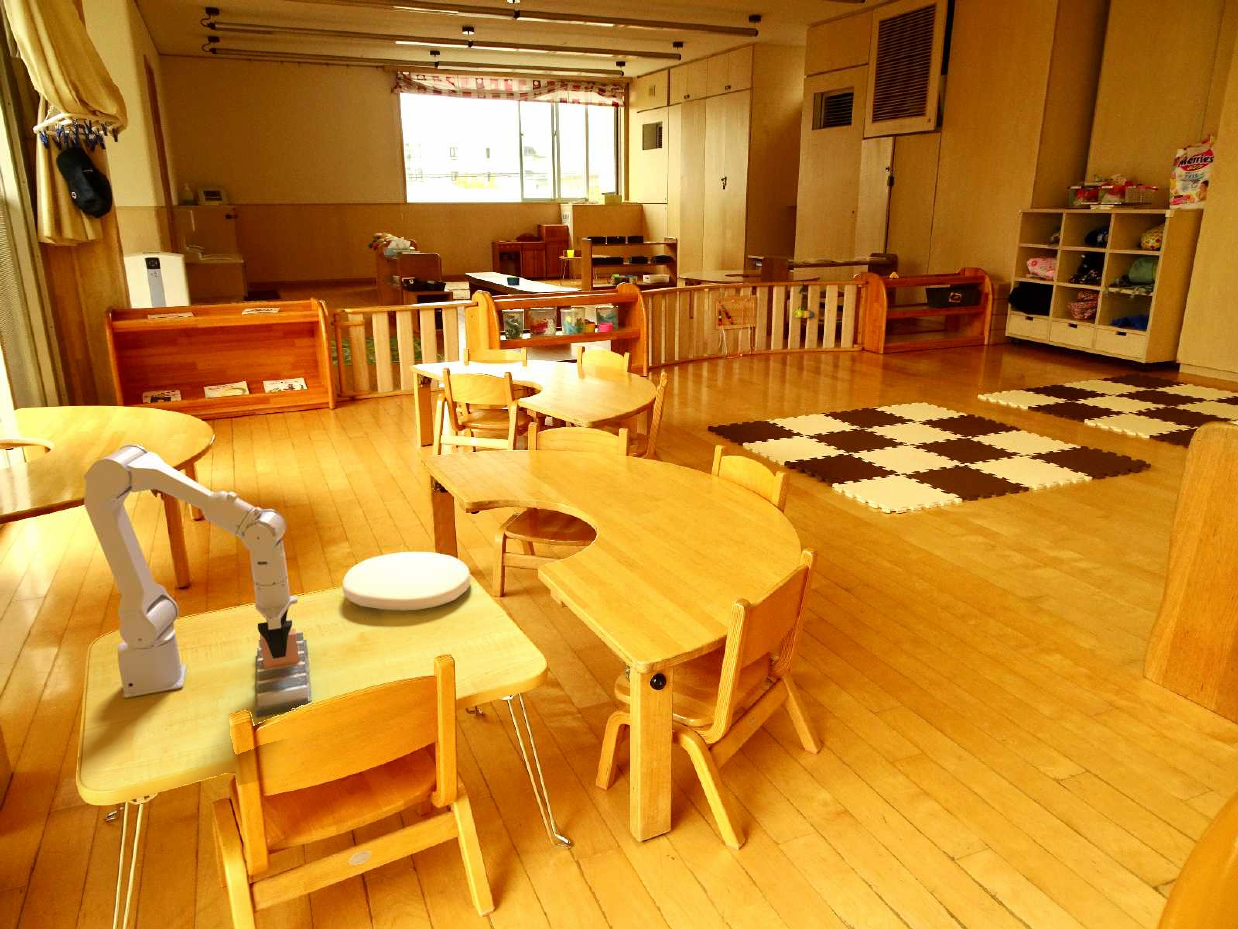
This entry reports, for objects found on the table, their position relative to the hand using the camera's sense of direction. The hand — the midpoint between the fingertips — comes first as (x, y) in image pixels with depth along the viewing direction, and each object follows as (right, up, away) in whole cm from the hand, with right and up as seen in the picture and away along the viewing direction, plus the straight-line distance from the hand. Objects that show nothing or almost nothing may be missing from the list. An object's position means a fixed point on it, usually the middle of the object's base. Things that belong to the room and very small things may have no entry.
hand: (279, 646), depth 155 cm
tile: (0, -5, +2) cm, 5 cm away
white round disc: (+15, +4, +37) cm, 40 cm away
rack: (0, -6, +2) cm, 7 cm away
